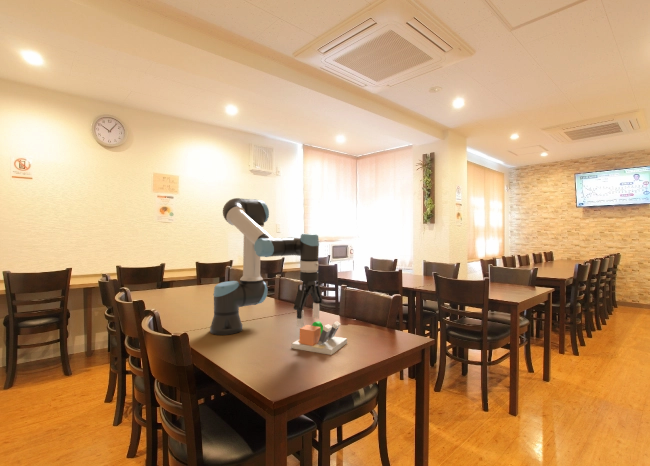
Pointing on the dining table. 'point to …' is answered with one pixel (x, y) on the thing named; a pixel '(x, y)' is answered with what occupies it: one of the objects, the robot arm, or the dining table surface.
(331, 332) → the lever plain
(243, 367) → the dining table surface
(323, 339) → the lever tagged
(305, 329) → the cap
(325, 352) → the panel
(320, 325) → the mechanical part
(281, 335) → the dining table surface
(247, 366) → the dining table surface
